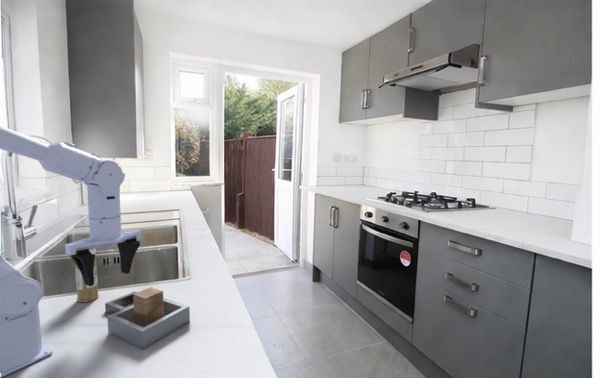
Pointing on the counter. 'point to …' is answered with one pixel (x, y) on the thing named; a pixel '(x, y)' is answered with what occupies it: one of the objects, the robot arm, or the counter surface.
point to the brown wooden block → (148, 306)
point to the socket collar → (119, 303)
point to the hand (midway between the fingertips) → (108, 278)
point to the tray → (148, 335)
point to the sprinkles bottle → (85, 291)
